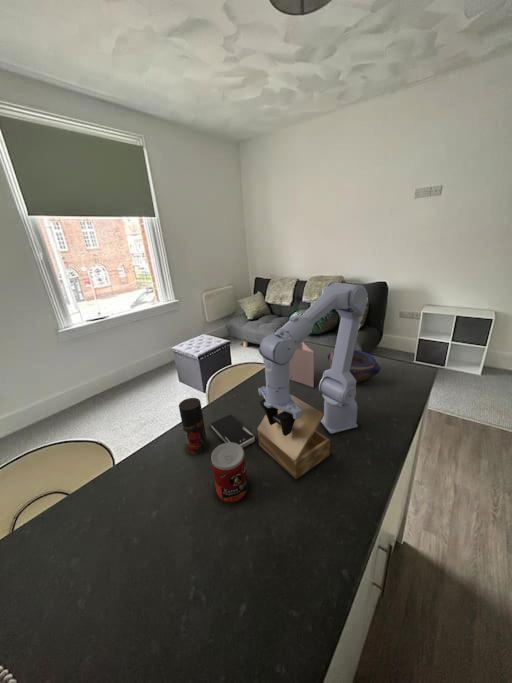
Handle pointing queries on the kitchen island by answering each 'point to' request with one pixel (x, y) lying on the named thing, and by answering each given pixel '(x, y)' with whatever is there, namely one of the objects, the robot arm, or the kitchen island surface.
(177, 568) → the kitchen island surface
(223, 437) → the smartphone
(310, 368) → the greeting card
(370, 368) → the bowl
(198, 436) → the deodorant
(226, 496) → the canned food
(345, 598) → the kitchen island surface
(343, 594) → the kitchen island surface
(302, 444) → the lid
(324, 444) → the compartment
